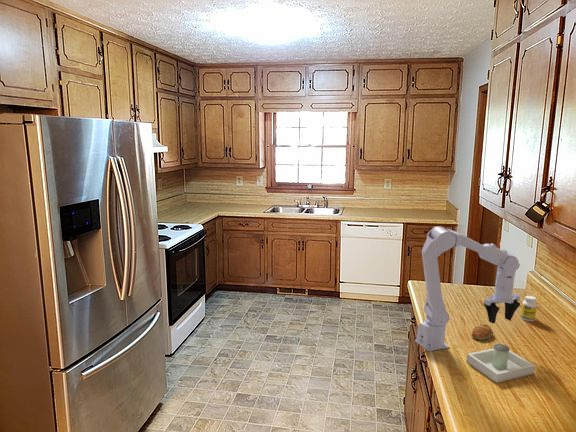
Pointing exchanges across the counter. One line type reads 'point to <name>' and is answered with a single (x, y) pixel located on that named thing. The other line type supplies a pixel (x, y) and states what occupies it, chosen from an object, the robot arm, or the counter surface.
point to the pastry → (482, 332)
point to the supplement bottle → (529, 308)
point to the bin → (484, 364)
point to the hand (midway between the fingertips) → (499, 320)
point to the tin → (500, 356)
